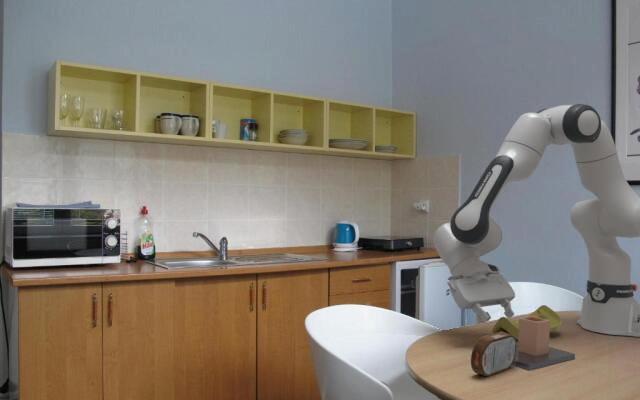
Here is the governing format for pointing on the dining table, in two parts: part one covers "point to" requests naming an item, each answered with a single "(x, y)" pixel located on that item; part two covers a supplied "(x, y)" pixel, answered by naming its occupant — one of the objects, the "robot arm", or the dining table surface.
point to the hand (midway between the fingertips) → (499, 318)
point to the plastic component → (541, 312)
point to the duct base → (541, 358)
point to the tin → (493, 353)
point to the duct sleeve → (534, 335)
